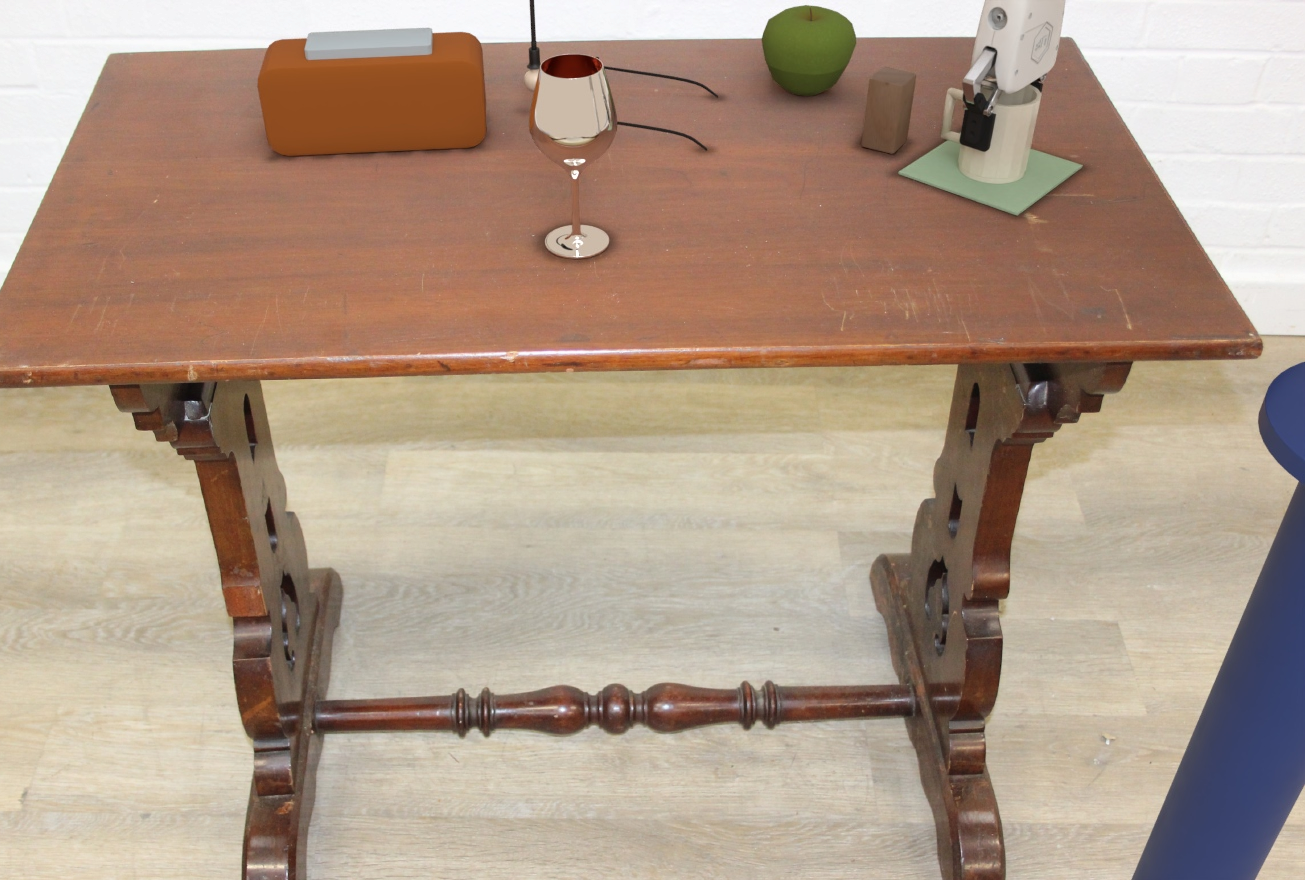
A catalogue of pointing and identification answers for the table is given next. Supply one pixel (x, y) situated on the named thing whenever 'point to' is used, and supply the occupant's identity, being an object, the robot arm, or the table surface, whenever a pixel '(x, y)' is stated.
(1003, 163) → the mug
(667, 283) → the table surface
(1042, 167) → the mat
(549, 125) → the wineglass
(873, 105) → the wooden block
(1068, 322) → the table surface
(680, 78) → the glasses
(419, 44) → the alarm clock
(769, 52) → the apple
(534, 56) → the light fixture
